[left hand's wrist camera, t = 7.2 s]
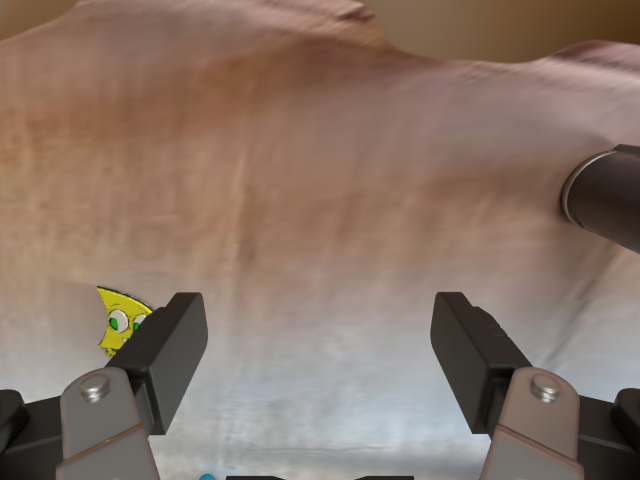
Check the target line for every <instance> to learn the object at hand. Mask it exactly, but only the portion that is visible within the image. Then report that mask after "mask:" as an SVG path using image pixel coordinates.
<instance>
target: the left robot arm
mask: <svg viewBox="0 0 640 480" xmlns="http://www.w3.org/2000/svg"><path fill="white" fill-rule="evenodd" d="M561 206H562V210H563V213H564V215H565V216H566V218H567V219H568V220H569V221H570V222H571V223H573V224H574V225H576V226H578V227H580V228H583V229H585V230H588V231H590V232H593V233H595V234H597V235H599V236H601V237H604V238H606V239H608V240H610V241H612V242H614V243H616V244H619V245H621V246H623V247H625V248H627V249H629V250H631V251H634V252H636V253H638V254H640V146H633V145H625V144H619V145H618V146H617V147H615V148H614V149H613V150H612V151H606V152H602V153H599V154H596V155H594V156H592V157H590V158H588V159H587V160H585V161H584V162H583V163H581V164H580V165H579V166H578V167H577V168H576V169H575V170H574V171H573V172H572V174H571V175H570V176H569V178H568V179H567V181H566V183H565V185H564V188H563V191H562V196H561ZM430 337H431V344H432V347H433V350H434V352H435V354H436V356H437V359H438V361H439V363H440V365H441V367H442V369H443V372H444V374H445V376H446V378H447V380H448V382H449V384H450V387H451V389H452V391H453V393H454V395H455V397H456V400H457V402H458V404H459V406H460V408H461V410H462V413H463V415H464V417H465V419H466V421H467V423H468V426H469V428H470V430H471V432H472V434H488V435H489V437H490V439H491V444H490V448H489V451H488V454H487V457H486V461H485V464H484V467H483V470H482V473H481V477H480V480H640V389H635V388H627V389H623V390H621V391H619V392H618V394H617V397H616V399H615V401H614V403H611V402H607V401H602V400H598V399H594V398H589V397H585V396H581V395H578V393H577V392H576V390H575V389H574V388H573V387H572V386H571V385H570V384H569V383H568V382H567V381H565V380H564V379H563V378H561V377H559V376H558V375H556V374H554V373H552V372H549V371H547V370H544V369H540V368H535V367H533V366H532V365H531V363H530V362H529V361H528V360H527V358H526V357H525V356H524V355H523V353H522V352H521V351H520V350H519V349H518V347H517V346H516V345H515V344H514V342H513V341H512V340H511V339H510V338H509V337H507V334H506V333H505V331H504V330H503V329H502V328H500V325H499V324H498V323H497V322H496V320H495V319H494V318H493V317H492V315H490V314H489V313H487V312H486V311H484V310H482V309H481V308H479V307H473V306H472V305H471V304H470V302H469V301H468V300H467V298H466V297H465V296H464V294H463V293H462V292H438V293H437V294H436V297H435V303H434V310H433V316H432V323H431V331H430ZM207 341H208V329H207V322H206V315H205V308H204V302H203V297H202V294H201V293H199V292H178V293H176V294H175V295H174V296H173V298H172V299H171V300H170V302H169V303H168V304H167V306H166V307H159V308H158V309H156V310H155V311H153V312H152V313H150V314H149V315H147V316H146V317H145V318H144V320H143V321H142V322H141V323H140V324H139V326H138V328H137V329H135V331H134V332H133V333H132V334H131V335H130V338H128V339H127V340H126V342H125V343H124V344H123V345H122V346H121V348H120V349H119V350H118V351H117V352H116V354H115V355H114V356H113V357H112V359H111V360H110V361H109V362H108V363H107V365H106V366H105V367H104V368H100V369H96V370H93V371H91V372H88V373H86V374H84V375H82V376H81V377H79V378H77V379H76V380H75V381H73V382H72V383H71V384H70V385H69V386H68V387H67V388H66V389H65V390H64V392H63V393H62V395H61V396H57V397H53V398H49V399H44V400H40V401H36V402H31V403H27V404H25V403H24V401H23V399H22V396H21V394H20V393H19V392H18V391H16V390H9V389H6V390H0V480H160V477H159V473H158V470H157V467H156V464H155V461H154V457H153V454H152V451H151V448H150V444H149V441H148V437H149V435H165V434H166V432H167V430H168V428H169V426H170V424H171V422H172V420H173V417H174V415H175V413H176V411H177V409H178V407H179V405H180V402H181V400H182V398H183V396H184V394H185V392H186V390H187V387H188V385H189V383H190V381H191V379H192V377H193V375H194V373H195V370H196V368H197V366H198V364H199V362H200V360H201V358H202V355H203V353H204V351H205V349H206V346H207ZM226 480H285V479H281V478H278V477H274V476H227V477H226ZM355 480H414V477H413V476H366V477H362V478H359V479H355Z"/></svg>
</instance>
